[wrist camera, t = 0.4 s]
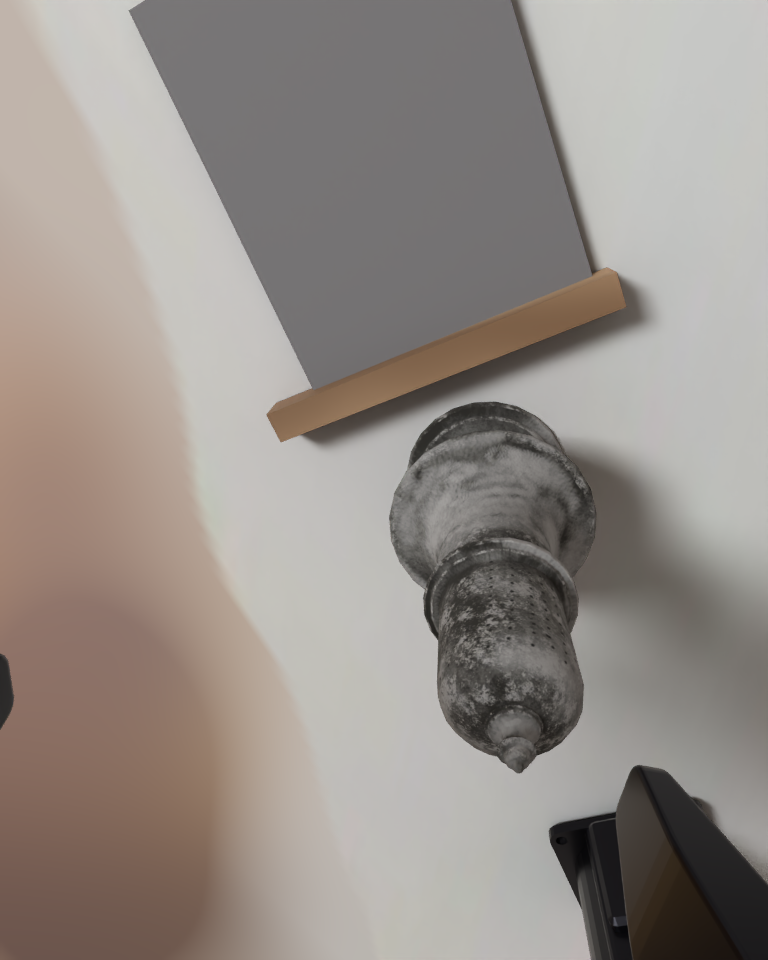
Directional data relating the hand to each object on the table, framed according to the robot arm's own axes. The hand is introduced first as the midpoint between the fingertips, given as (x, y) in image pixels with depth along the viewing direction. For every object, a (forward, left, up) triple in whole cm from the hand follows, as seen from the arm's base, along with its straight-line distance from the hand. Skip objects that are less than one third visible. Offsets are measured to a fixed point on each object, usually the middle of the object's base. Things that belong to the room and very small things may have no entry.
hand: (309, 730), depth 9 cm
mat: (+8, -3, -13) cm, 15 cm away
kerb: (+1, -2, -13) cm, 13 cm away
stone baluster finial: (-3, -2, -13) cm, 14 cm away
